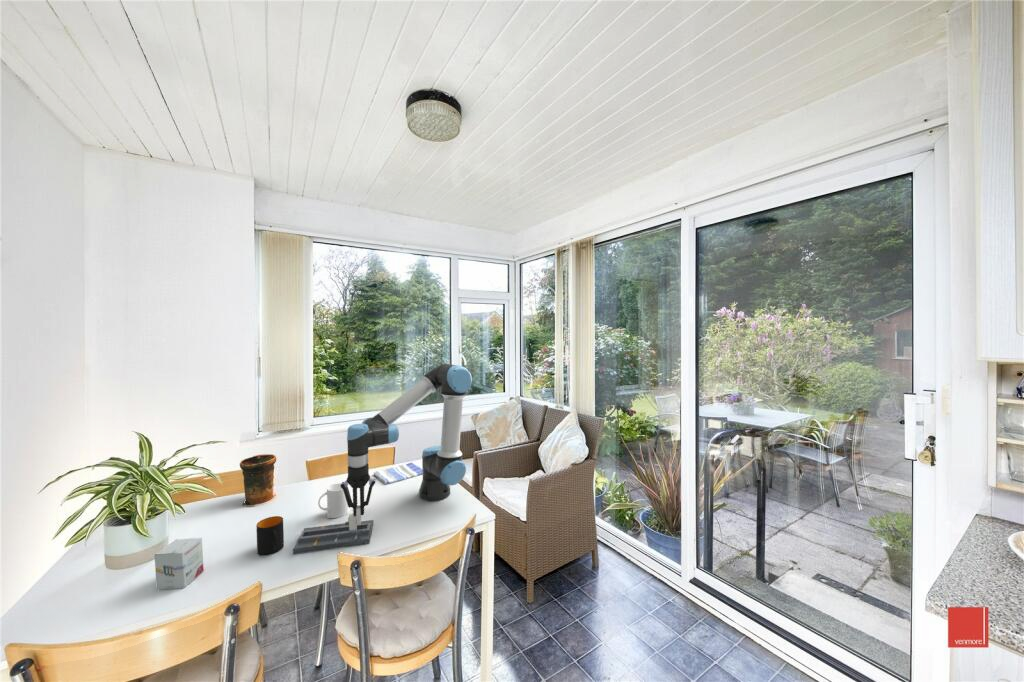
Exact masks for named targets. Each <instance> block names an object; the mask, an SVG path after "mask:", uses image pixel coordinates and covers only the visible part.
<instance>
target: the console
mask: <svg viewBox="0 0 1024 682" xmlns="http://www.w3.org/2000/svg"><path fill="white" fill-rule="evenodd" d="M374 522H375V521H374V519H370V520H361V525H357V530H352V531H349V522H348V520H347V521H346V522H344V523H336V524H329V525H321V526H312V527H305V528H303V530H302V531H301V533H300V535H299V537H298V538H297V540H296V543H295V544H294V546H293V548H292V555H298V554H306V553H312V552H313V553H314V552H319V551H321V552H322V551H326V550H335V549H336V550H337V549H342V548H343V549H344V548H350V547H356V546H364V545H370V543H371V539H372V538H371V537H372V533H373V529H374V524H375V523H374Z"/></svg>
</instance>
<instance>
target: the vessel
mask: <svg viewBox="0 0 1024 682" xmlns="http://www.w3.org/2000/svg"><path fill="white" fill-rule="evenodd" d="M276 462H277V456H276V455H275V454H271V453H270V454H269V453H267V454H266V453H263V454H257V455H253V456H251V457H250V456H249V457H248V458H247V457H246V458H243V459H242V460H241V461H240V462H239V467H240V469H241V470H242V475H243V487H244V488H243V489H244V498H245V499H244V501H245V500H246V501H245V503H244V501H242V504H241V506H243V507H246V508H247V507H248V508H251V507H257V506H260V505H264V504H265V505H266V504H267V503H271V501H273V500H274V499H275V498H276V496H277V494H276V493H274V486H275V483H274V479H275V476H274V470H275V468H276V467H275V463H276ZM273 494H275V495H273Z"/></svg>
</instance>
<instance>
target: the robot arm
mask: <svg viewBox="0 0 1024 682" xmlns="http://www.w3.org/2000/svg"><path fill="white" fill-rule="evenodd" d="M472 382H473V377H472V374H471V372H470V371H469V370H468V368H466V367H464V366H461V365H457V364H456V365H455V364H449V363H442V364H439V365H437V366H435V367H433V368H432V369H431V370H429V371H428V372H426V373H425V374H424V375H422V376H421V380H420V381H418V382H417V383H416V384H415V385H413V386H412V387H411V388H410V389H408V390H406V391H405V392H404V393H403V394H401V396H399V397H398V398H396V399H395V400H394V401H392V402H391V403H390V404H388V405H387V406H385V407H384V408H383V409H382V410H381V411H379V412H378V413H377V414H375V415H374V416H372V417H367V418H365V419H364V420H362V422H361V423H353V424H351V425H350V426H348V427H347V434H346V439H347V440H346V441H347V442H346V443H347V478H346V480H345V481H341V483H342V484H341V488H342V489H343V491H344V494H345V497H346V501H347V504H348V509H349V508H352V511H353V515H354V516H356V525H361V521H362V516H364V514H365V507H366V506H368V505H369V503H370V499H371V495H372V491H373V487H374V485H376V481H377V480H376V479H375V478H371V476H370V473H369V466H370V465H369V448H372V447H378V446H384V445H390V444H394V443H396V442H397V441H398V440H399V437H400V432H399V428H398V426H397V425H396V424H395V422H396V421H397V420H398V419H400V418H401V417H402V416H403V415H405V414H406V413H407V412H408V411H410V410H411V409H413V407H414V406H416V405H417V404H419V403H420V402H421V401H423V400H424V399H425V398H426V397H427V396H429V395H430V394H431V393H432V394H433V393H436V392H437V391H439V390H440V395H441V396H442V397H443V410H442V426H441V440H440V445H435V446H429V447H426V448H425V449H423V450H422V456H421V458H422V460H421V461H422V462H421V463H422V465H421V467H422V468H421V469H422V470H423V474H422V480H421V484H420V487H419V490H418V495H419V496H418V497H419V498H420V499H422V500H423V501H426V502H429V501H430V502H435V501H441V500H443V499H447V498H448V497H449V496H450V495H451V486H456V485H458V484H459V483H460V482H461V481H462V480H463V479H464V477H465V476H466V473H467V466H466V464H465V463H464V461H463V453H462V451H461V450H460V446H461V432H462V431H461V430H462V428H461V427H462V414H463V401H464V400H463V399H464V398H465V397H466V396H467V391H468V390H469V388H471V386H472ZM367 484H368V485H369V486H368V491H367V495H366V499H365V486H366V485H367ZM348 485H349V486H350V487H351V488H352V496H351V493H350V489H349V487H348ZM358 489H359V505H358Z"/></svg>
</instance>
